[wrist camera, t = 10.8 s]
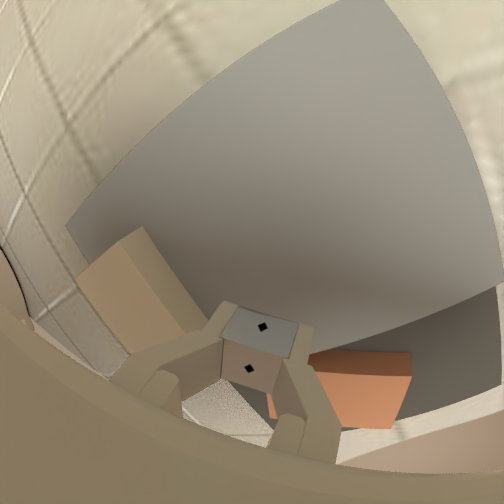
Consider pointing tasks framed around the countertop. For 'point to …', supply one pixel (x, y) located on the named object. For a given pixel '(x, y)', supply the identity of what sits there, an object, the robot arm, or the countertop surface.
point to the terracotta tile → (361, 385)
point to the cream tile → (139, 294)
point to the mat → (433, 356)
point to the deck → (311, 184)
